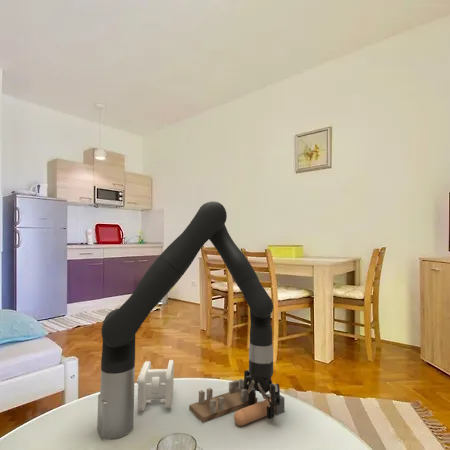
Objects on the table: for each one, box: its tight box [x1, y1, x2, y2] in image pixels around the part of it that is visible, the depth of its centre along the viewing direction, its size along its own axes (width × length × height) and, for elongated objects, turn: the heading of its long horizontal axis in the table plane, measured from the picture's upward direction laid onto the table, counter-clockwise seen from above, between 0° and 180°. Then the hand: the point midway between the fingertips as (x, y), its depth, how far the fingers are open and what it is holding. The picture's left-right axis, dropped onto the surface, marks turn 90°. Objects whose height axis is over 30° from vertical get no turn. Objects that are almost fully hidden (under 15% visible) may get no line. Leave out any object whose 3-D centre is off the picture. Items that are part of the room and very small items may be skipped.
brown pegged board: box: [188, 378, 258, 424], centre depth 101 cm, size 21×9×5 cm, turn 124°
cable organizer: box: [136, 359, 175, 412], centre depth 103 cm, size 15×11×12 cm
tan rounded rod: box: [233, 394, 285, 426], centre depth 95 cm, size 18×4×4 cm, turn 124°
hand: (260, 411), depth 95 cm, fingers open, 8 cm apart
